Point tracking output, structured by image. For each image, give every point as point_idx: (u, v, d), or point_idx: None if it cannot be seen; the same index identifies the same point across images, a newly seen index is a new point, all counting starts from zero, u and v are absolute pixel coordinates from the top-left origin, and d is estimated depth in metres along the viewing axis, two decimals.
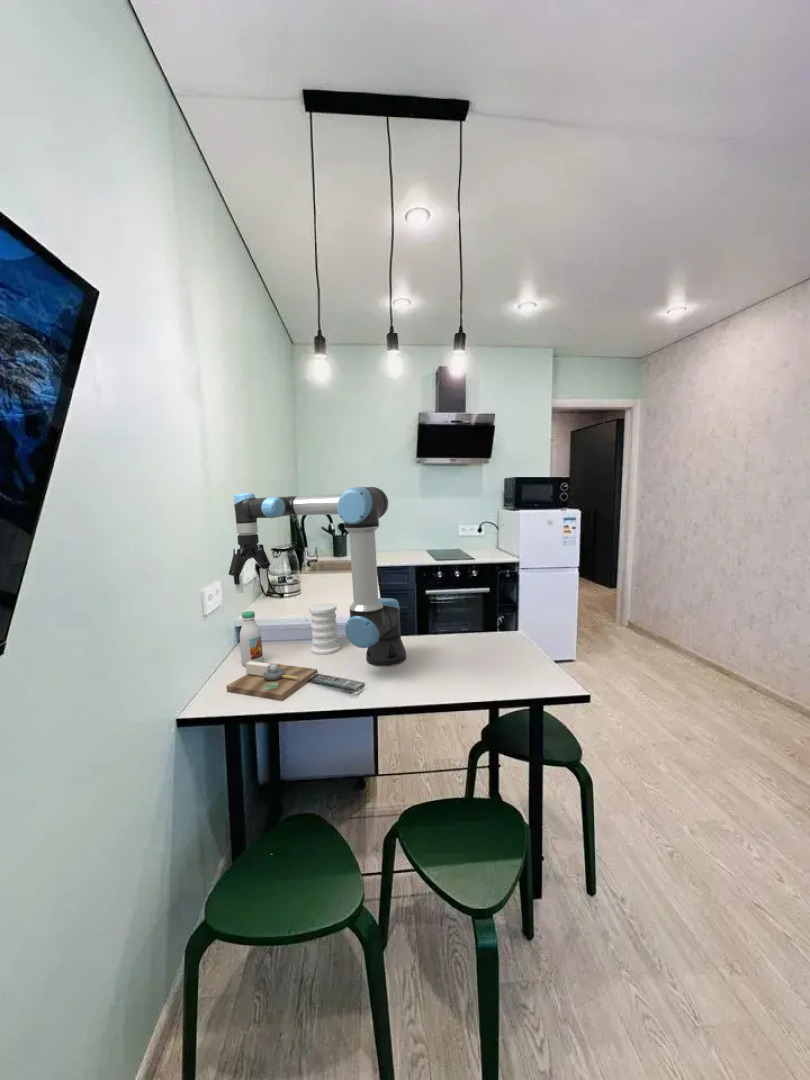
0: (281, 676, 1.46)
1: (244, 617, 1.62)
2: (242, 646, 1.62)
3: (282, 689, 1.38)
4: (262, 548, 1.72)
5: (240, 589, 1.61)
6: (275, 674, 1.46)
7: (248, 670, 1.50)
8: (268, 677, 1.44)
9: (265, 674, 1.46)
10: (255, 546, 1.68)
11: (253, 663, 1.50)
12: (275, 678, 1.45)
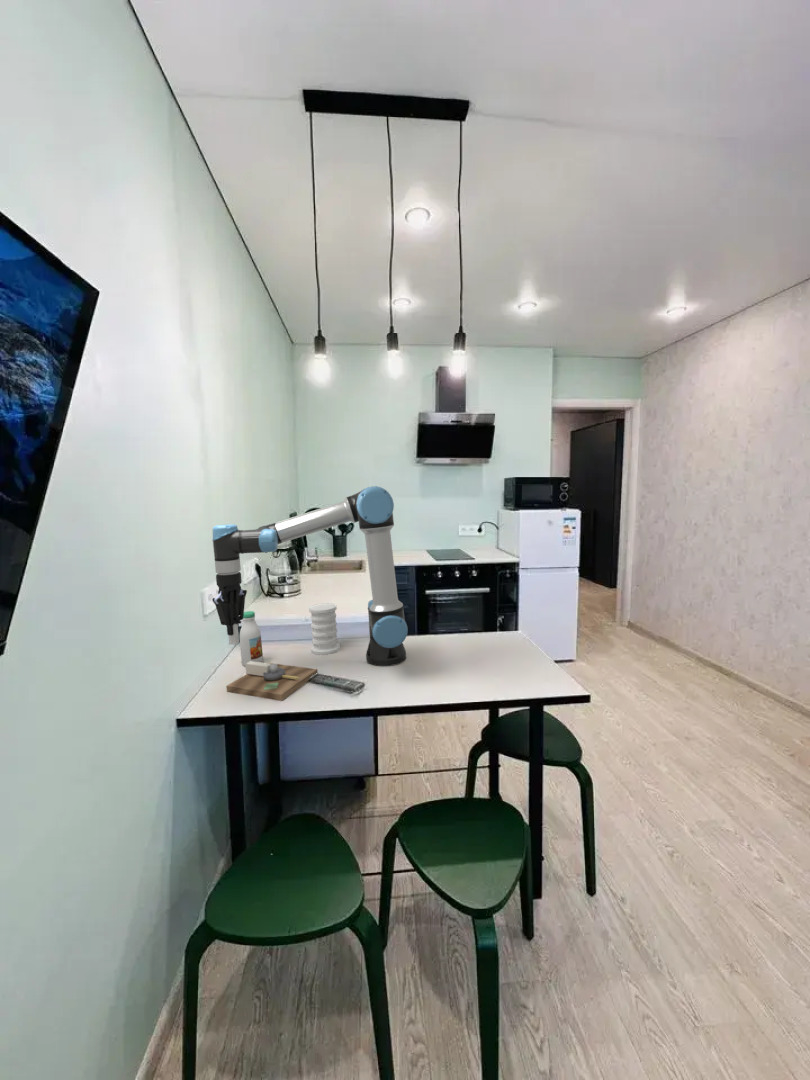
0: (281, 676, 1.46)
1: (244, 617, 1.62)
2: (242, 646, 1.62)
3: (282, 689, 1.38)
4: (244, 594, 1.45)
5: (234, 640, 1.41)
6: (275, 674, 1.46)
7: (248, 670, 1.50)
8: (268, 677, 1.44)
9: (265, 674, 1.46)
10: (239, 585, 1.43)
11: (253, 663, 1.50)
12: (275, 678, 1.45)
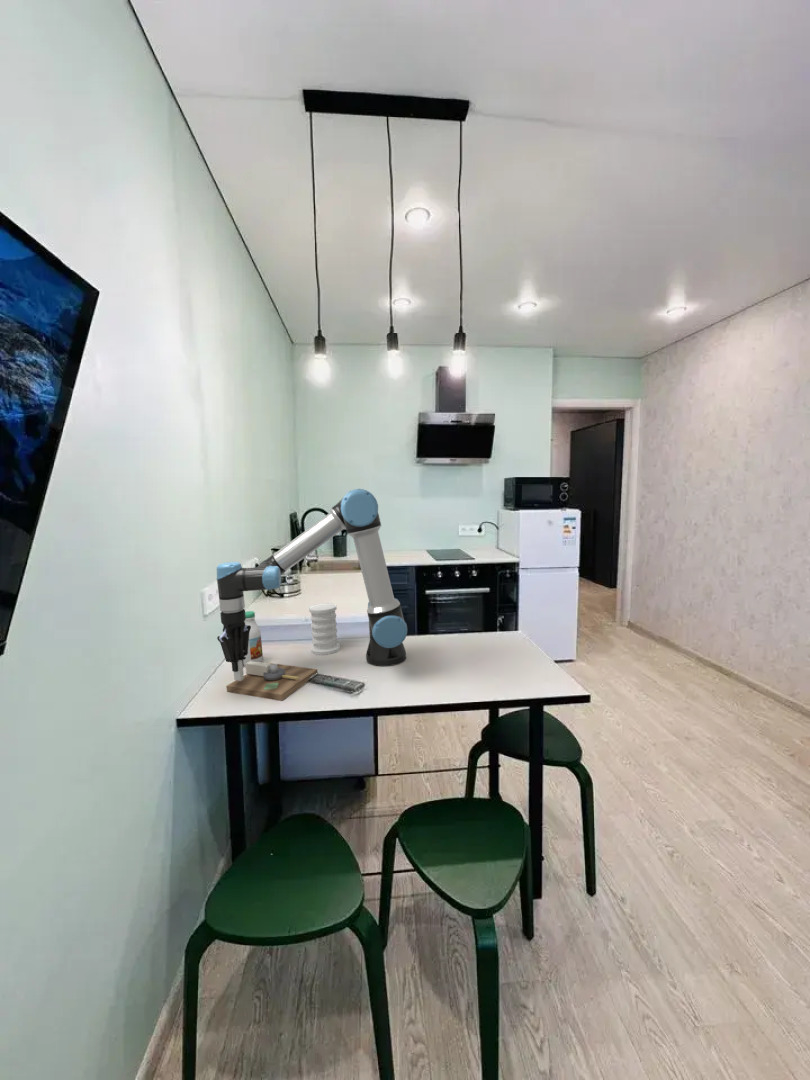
0: (281, 676, 1.46)
1: None
2: None
3: (282, 689, 1.38)
4: (248, 630, 1.47)
5: (239, 676, 1.43)
6: (275, 674, 1.46)
7: (248, 670, 1.50)
8: (268, 677, 1.44)
9: (265, 674, 1.46)
10: (243, 622, 1.44)
11: (253, 663, 1.50)
12: (275, 678, 1.45)
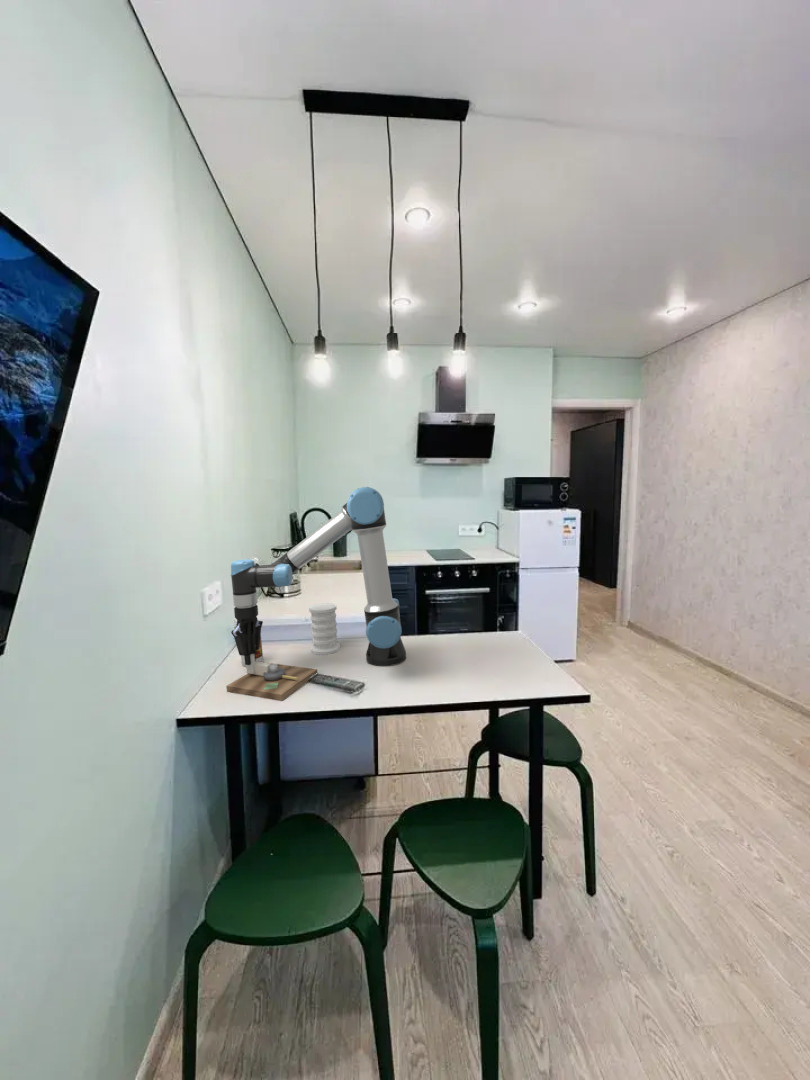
0: (281, 676, 1.46)
1: None
2: None
3: (282, 689, 1.38)
4: (260, 625, 1.52)
5: (251, 670, 1.48)
6: (275, 674, 1.45)
7: None
8: (267, 677, 1.44)
9: (265, 674, 1.46)
10: (255, 617, 1.50)
11: None
12: (275, 678, 1.44)
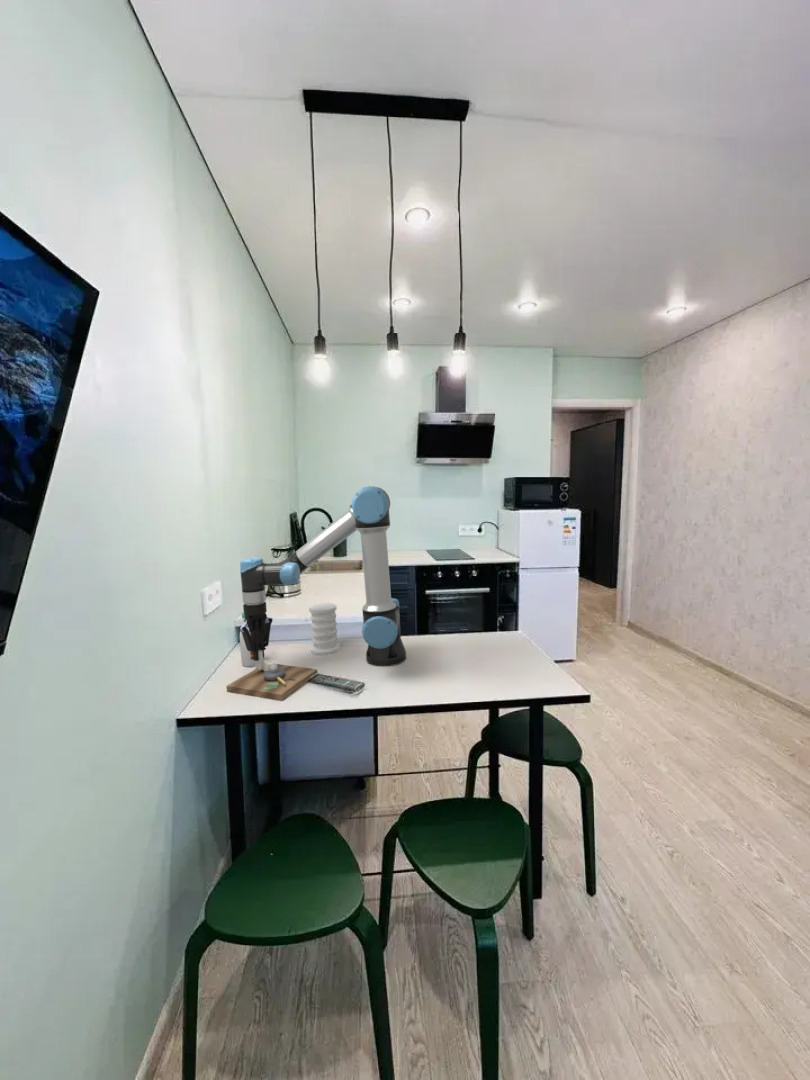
0: (276, 678, 1.45)
1: (244, 617, 1.62)
2: (242, 646, 1.62)
3: (282, 689, 1.38)
4: (270, 622, 1.55)
5: (259, 665, 1.52)
6: (271, 674, 1.45)
7: None
8: (264, 676, 1.45)
9: (265, 672, 1.47)
10: (264, 614, 1.53)
11: (264, 659, 1.54)
12: (269, 679, 1.44)
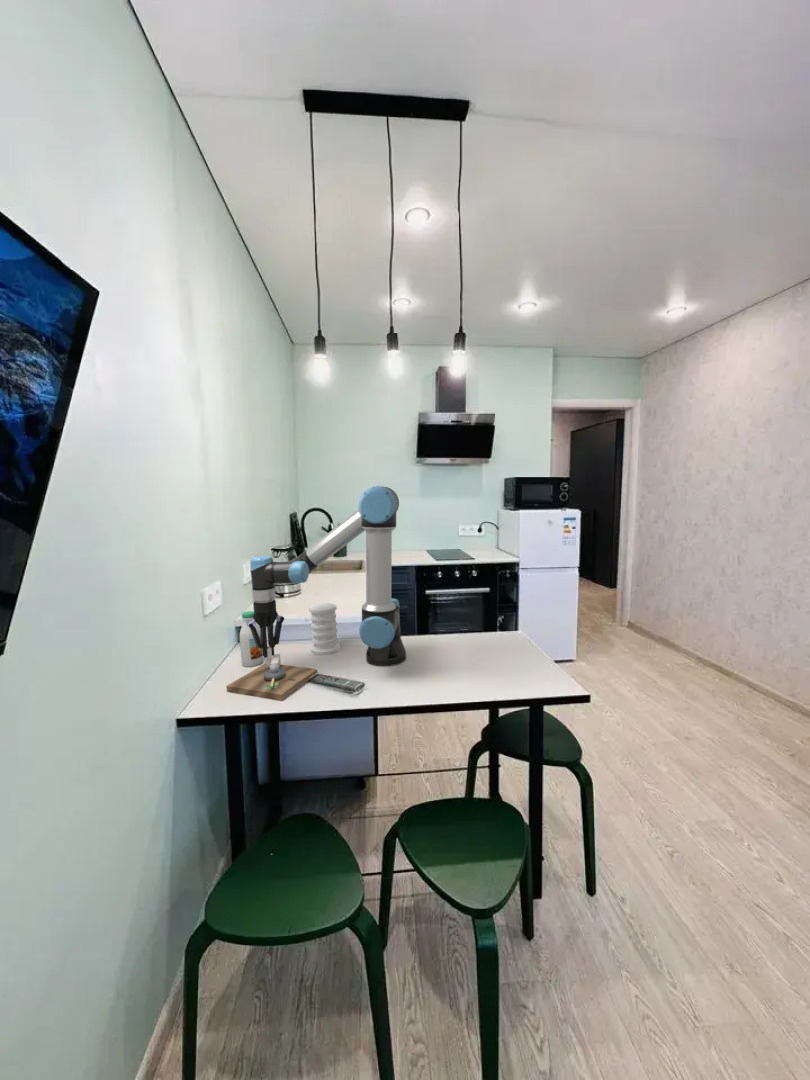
0: (271, 678, 1.44)
1: (244, 617, 1.62)
2: (242, 646, 1.62)
3: (282, 689, 1.38)
4: (281, 621, 1.56)
5: (268, 662, 1.54)
6: (268, 674, 1.46)
7: None
8: (263, 674, 1.47)
9: (267, 671, 1.49)
10: (274, 612, 1.54)
11: (275, 656, 1.55)
12: (265, 678, 1.45)
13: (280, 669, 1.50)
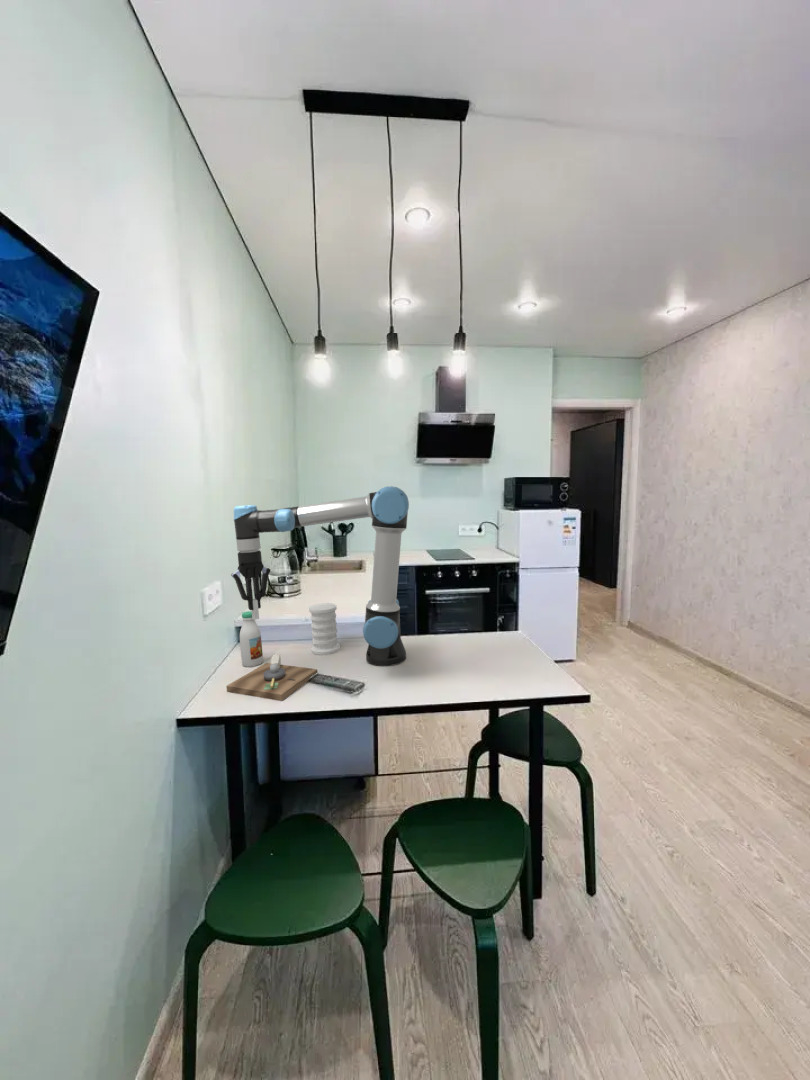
0: (271, 678, 1.44)
1: (244, 617, 1.62)
2: (242, 646, 1.62)
3: (282, 689, 1.38)
4: (267, 572, 1.51)
5: (254, 615, 1.49)
6: (268, 674, 1.46)
7: None
8: (263, 674, 1.47)
9: (267, 671, 1.49)
10: (260, 564, 1.49)
11: (275, 656, 1.55)
12: (265, 678, 1.45)
13: (280, 669, 1.50)
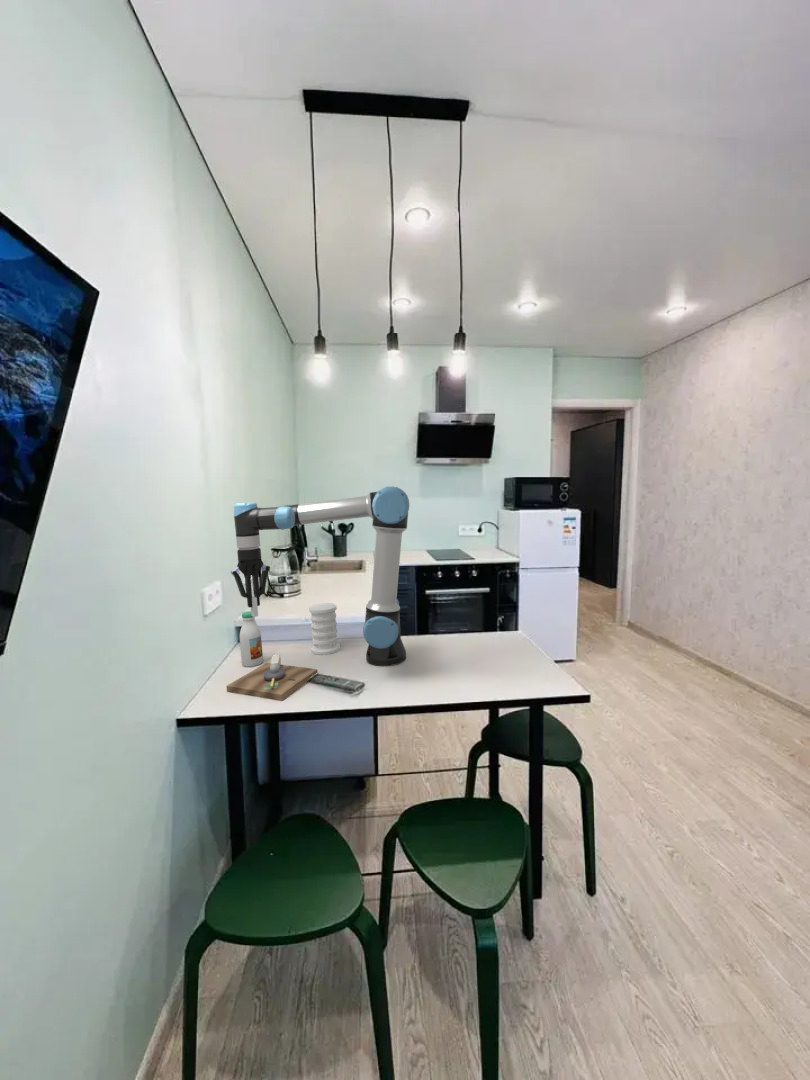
0: (271, 678, 1.44)
1: (244, 617, 1.62)
2: (242, 646, 1.62)
3: (282, 689, 1.38)
4: (266, 570, 1.51)
5: (253, 612, 1.49)
6: (268, 674, 1.46)
7: None
8: (263, 674, 1.47)
9: (267, 671, 1.49)
10: (260, 561, 1.49)
11: (275, 656, 1.55)
12: (265, 678, 1.45)
13: (280, 669, 1.50)
